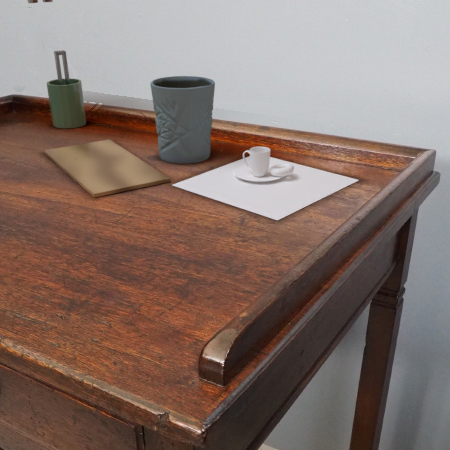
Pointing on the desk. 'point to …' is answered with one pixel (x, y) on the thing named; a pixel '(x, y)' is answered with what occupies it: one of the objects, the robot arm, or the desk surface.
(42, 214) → the desk surface
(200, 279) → the desk surface
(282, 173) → the teacup and saucer
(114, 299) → the desk surface
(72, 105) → the green cup
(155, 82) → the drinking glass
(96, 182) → the cork mat
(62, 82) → the tongs
